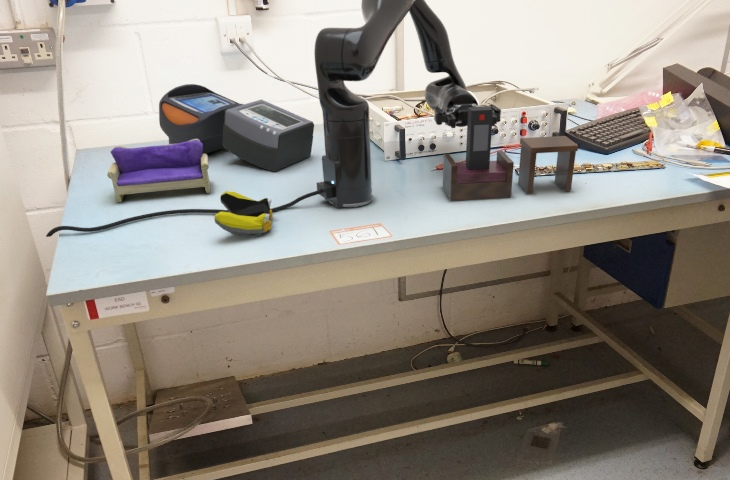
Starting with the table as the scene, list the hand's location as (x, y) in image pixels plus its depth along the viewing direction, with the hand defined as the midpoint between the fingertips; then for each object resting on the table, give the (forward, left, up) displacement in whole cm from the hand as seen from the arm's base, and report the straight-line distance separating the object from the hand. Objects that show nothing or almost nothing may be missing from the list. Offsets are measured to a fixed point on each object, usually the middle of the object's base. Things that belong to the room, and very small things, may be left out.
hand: (473, 122), depth 138 cm
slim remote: (-2, -5, -8) cm, 10 cm away
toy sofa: (-59, +35, -14) cm, 70 cm away
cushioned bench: (-2, -5, -14) cm, 15 cm away
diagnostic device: (-34, +53, -14) cm, 65 cm away
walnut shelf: (+12, -11, -14) cm, 21 cm away
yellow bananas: (-51, +4, -14) cm, 53 cm away
